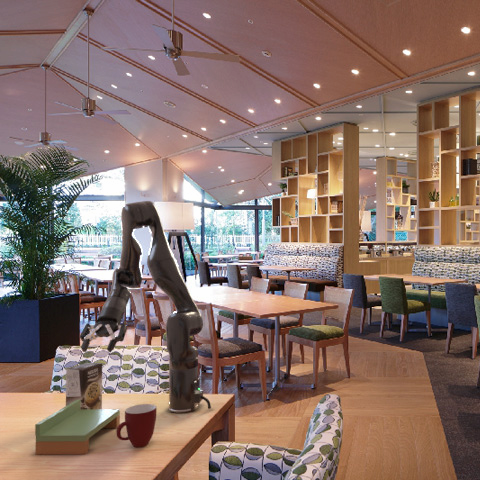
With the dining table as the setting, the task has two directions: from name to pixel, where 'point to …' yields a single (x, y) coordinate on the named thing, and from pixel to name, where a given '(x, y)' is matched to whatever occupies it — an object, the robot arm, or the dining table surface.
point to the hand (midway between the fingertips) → (96, 350)
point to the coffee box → (85, 385)
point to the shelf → (72, 429)
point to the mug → (138, 424)
